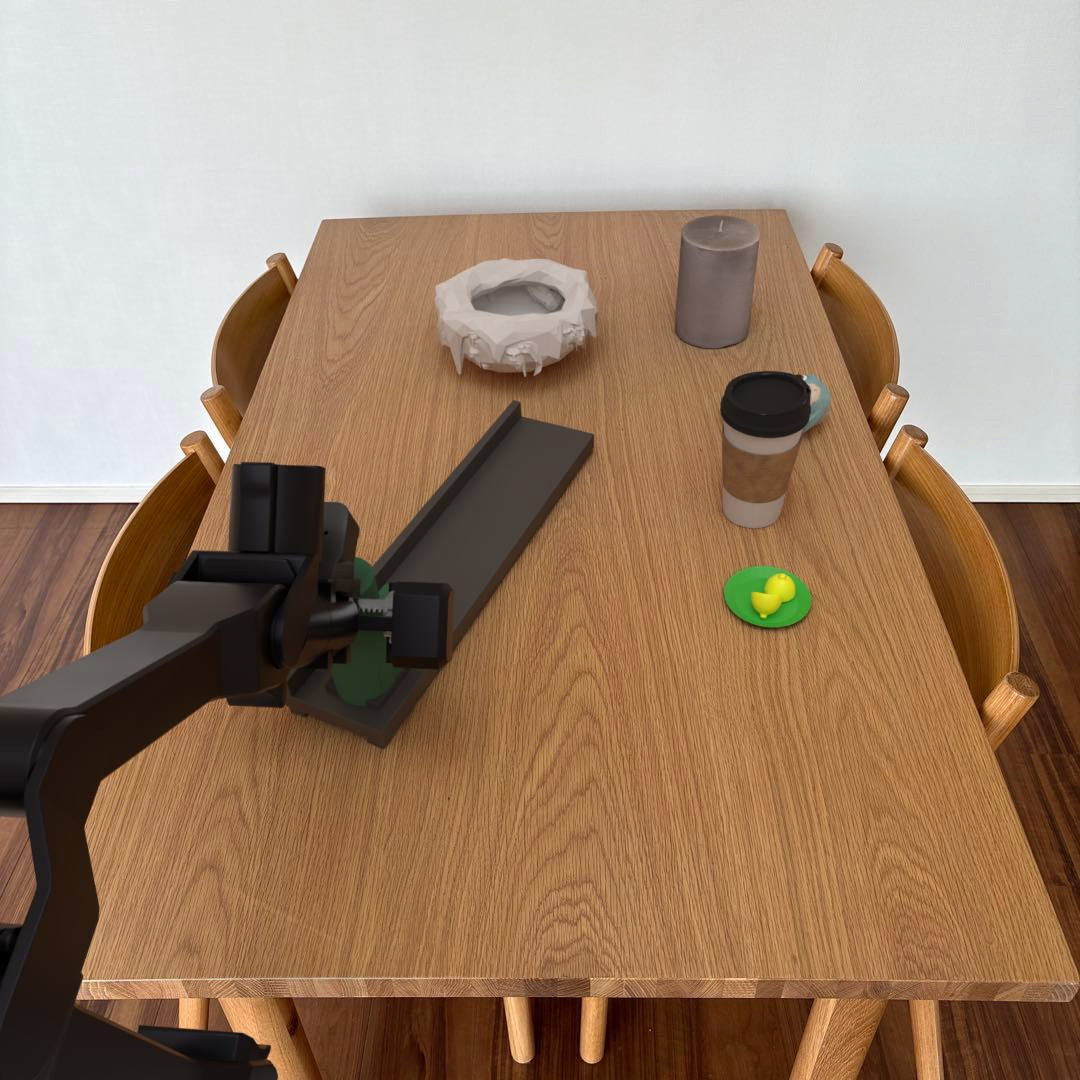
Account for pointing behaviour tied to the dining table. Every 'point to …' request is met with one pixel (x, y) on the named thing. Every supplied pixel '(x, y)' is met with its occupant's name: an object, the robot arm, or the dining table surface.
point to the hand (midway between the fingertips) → (357, 616)
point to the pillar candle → (716, 280)
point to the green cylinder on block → (367, 655)
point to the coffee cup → (761, 443)
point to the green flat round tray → (767, 596)
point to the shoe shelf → (460, 550)
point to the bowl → (515, 314)
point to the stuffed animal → (816, 400)
